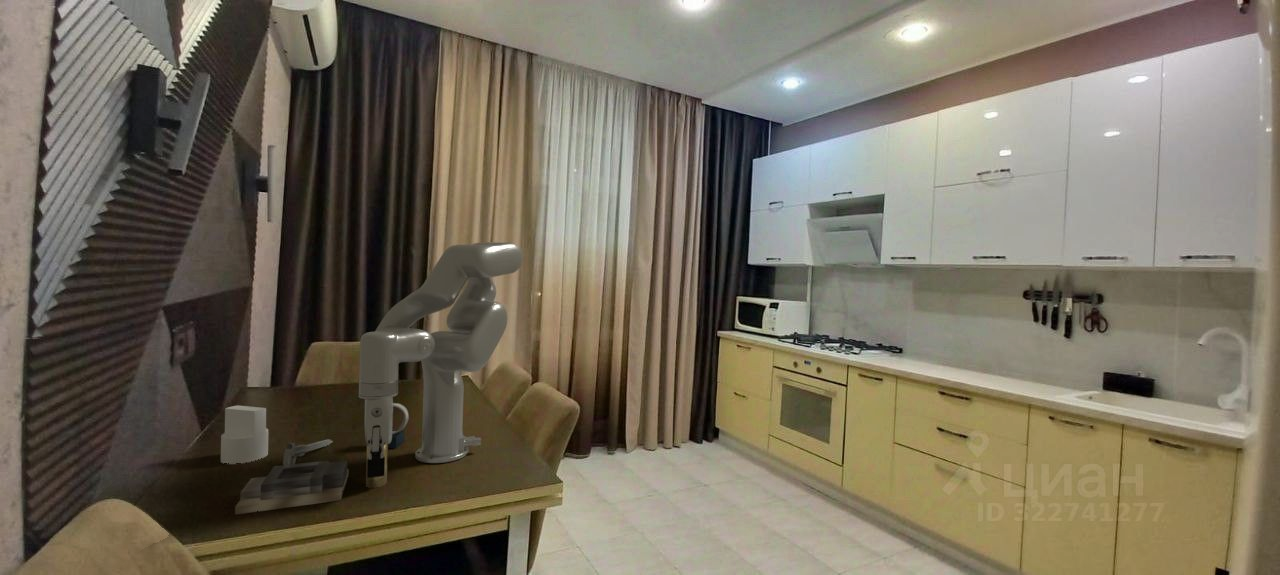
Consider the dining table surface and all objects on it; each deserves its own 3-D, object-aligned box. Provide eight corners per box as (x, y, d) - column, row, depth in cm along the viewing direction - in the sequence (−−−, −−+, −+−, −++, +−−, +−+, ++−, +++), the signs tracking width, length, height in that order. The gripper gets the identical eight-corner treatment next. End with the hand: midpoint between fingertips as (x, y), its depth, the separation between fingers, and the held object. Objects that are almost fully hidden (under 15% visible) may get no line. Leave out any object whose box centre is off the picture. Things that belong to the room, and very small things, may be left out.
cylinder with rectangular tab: (277, 452, 123) (278, 405, 123) (242, 465, 114) (243, 414, 114) (247, 449, 125) (248, 402, 125) (210, 462, 116) (211, 411, 116)
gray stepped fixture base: (348, 475, 111) (348, 456, 111) (340, 500, 99) (341, 478, 99) (255, 487, 103) (255, 465, 103) (235, 514, 92) (235, 490, 92)
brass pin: (387, 479, 109) (388, 435, 109) (386, 486, 106) (387, 440, 106) (366, 482, 108) (367, 436, 108) (365, 489, 104) (366, 442, 104)
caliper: (288, 473, 112) (288, 445, 112) (282, 473, 112) (283, 445, 112) (333, 443, 132) (333, 419, 132) (328, 443, 132) (329, 419, 132)
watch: (380, 441, 134) (381, 401, 134) (410, 441, 134) (411, 401, 134) (370, 448, 128) (371, 406, 128) (402, 448, 129) (403, 407, 129)
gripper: (396, 396, 100) (394, 485, 101) (399, 380, 116) (396, 457, 116) (354, 399, 97) (352, 490, 98) (362, 381, 113) (360, 461, 113)
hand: (376, 471), depth 107 cm, fingers closed on brass pin, 4 cm apart
